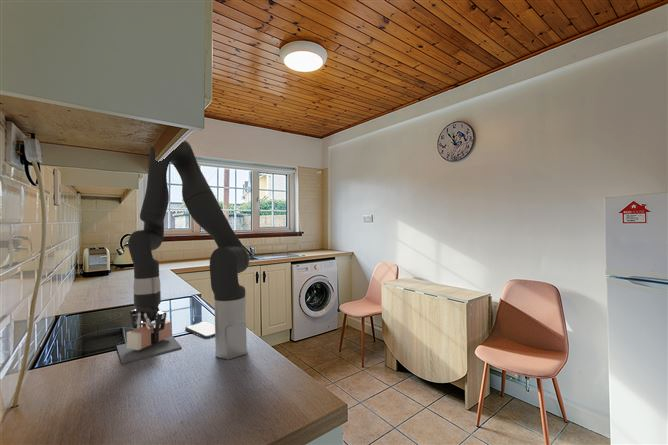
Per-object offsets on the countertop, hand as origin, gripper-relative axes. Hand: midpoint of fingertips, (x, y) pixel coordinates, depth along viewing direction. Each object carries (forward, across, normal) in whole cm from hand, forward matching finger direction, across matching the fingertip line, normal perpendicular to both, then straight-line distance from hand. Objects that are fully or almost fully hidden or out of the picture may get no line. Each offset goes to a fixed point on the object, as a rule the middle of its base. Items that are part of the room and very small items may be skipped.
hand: (148, 342), depth 101 cm
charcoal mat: (+2, 0, 0) cm, 2 cm away
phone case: (+3, +7, +18) cm, 20 cm away
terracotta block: (-2, 0, +7) cm, 7 cm away
